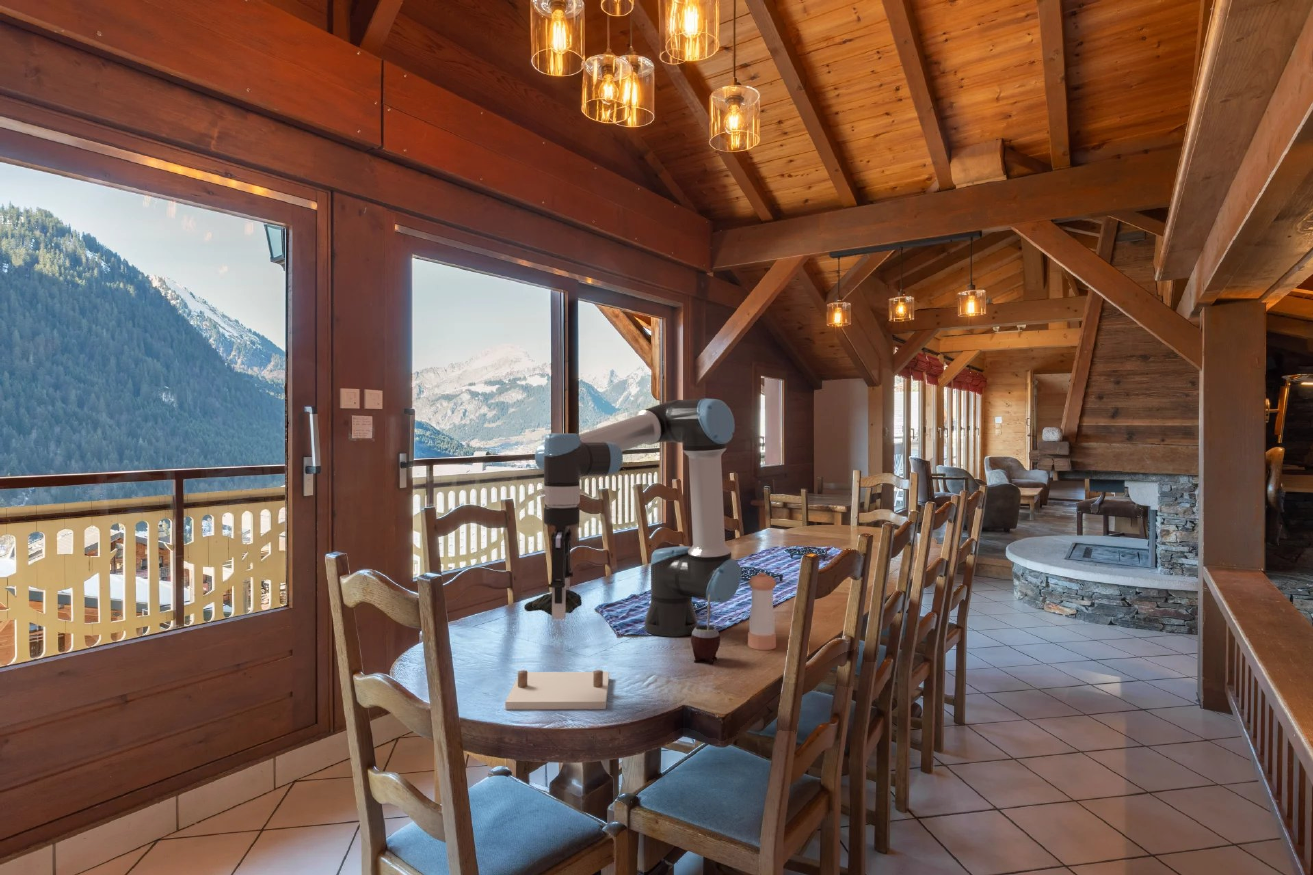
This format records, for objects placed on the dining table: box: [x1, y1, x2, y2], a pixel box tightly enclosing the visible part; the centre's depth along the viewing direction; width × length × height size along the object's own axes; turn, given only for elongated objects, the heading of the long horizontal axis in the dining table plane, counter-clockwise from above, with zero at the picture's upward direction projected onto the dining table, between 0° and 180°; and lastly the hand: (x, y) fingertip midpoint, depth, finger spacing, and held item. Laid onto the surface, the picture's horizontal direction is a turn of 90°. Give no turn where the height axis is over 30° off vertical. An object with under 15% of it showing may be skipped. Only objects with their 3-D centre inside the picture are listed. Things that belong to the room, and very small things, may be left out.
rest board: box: [504, 669, 610, 710], centre depth 145 cm, size 20×17×4 cm
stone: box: [523, 590, 583, 616], centre depth 145 cm, size 7×13×5 cm, turn 69°
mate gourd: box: [690, 594, 721, 666], centre depth 167 cm, size 8×8×15 cm
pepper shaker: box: [747, 571, 777, 651], centre depth 178 cm, size 7×7×19 cm
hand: (561, 612), depth 145 cm, fingers closed on stone, 8 cm apart
